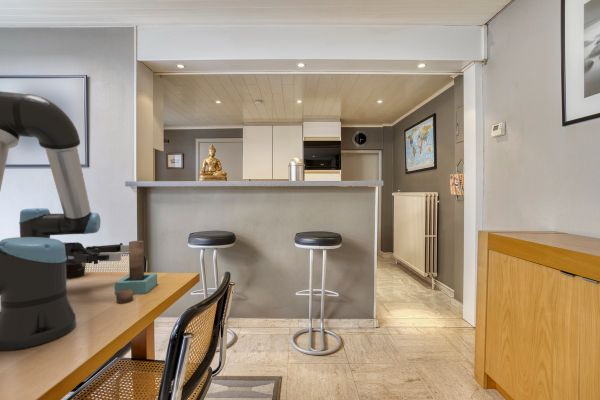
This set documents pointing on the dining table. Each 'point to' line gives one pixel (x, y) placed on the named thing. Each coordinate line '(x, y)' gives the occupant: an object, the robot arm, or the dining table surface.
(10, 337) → the robot arm
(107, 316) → the dining table surface
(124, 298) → the brown rounded block
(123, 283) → the hole block
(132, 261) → the long pin
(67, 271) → the coffee mug
